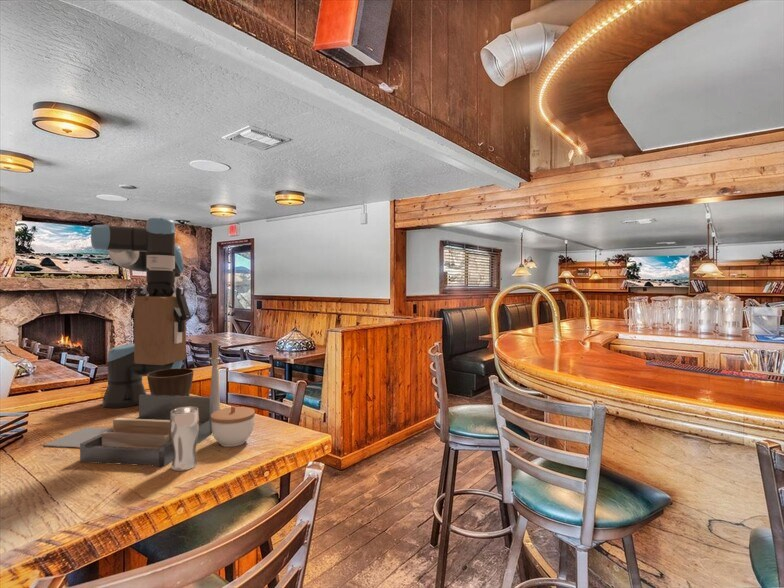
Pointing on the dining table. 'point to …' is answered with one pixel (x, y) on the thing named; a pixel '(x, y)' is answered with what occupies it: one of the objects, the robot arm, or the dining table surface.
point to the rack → (154, 410)
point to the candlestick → (215, 377)
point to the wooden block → (156, 331)
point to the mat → (77, 437)
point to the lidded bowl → (232, 425)
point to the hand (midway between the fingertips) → (160, 342)
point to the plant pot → (171, 382)
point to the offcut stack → (137, 433)
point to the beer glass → (184, 437)
